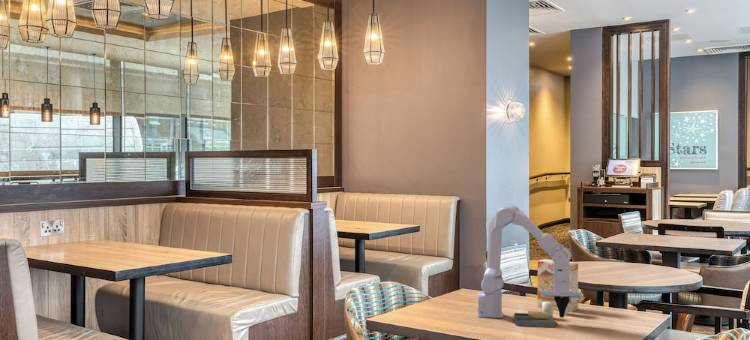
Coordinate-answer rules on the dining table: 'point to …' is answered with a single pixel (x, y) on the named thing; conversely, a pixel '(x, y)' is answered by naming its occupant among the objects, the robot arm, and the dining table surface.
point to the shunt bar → (539, 315)
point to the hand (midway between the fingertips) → (561, 316)
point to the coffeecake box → (548, 282)
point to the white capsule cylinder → (547, 307)
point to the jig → (531, 321)
